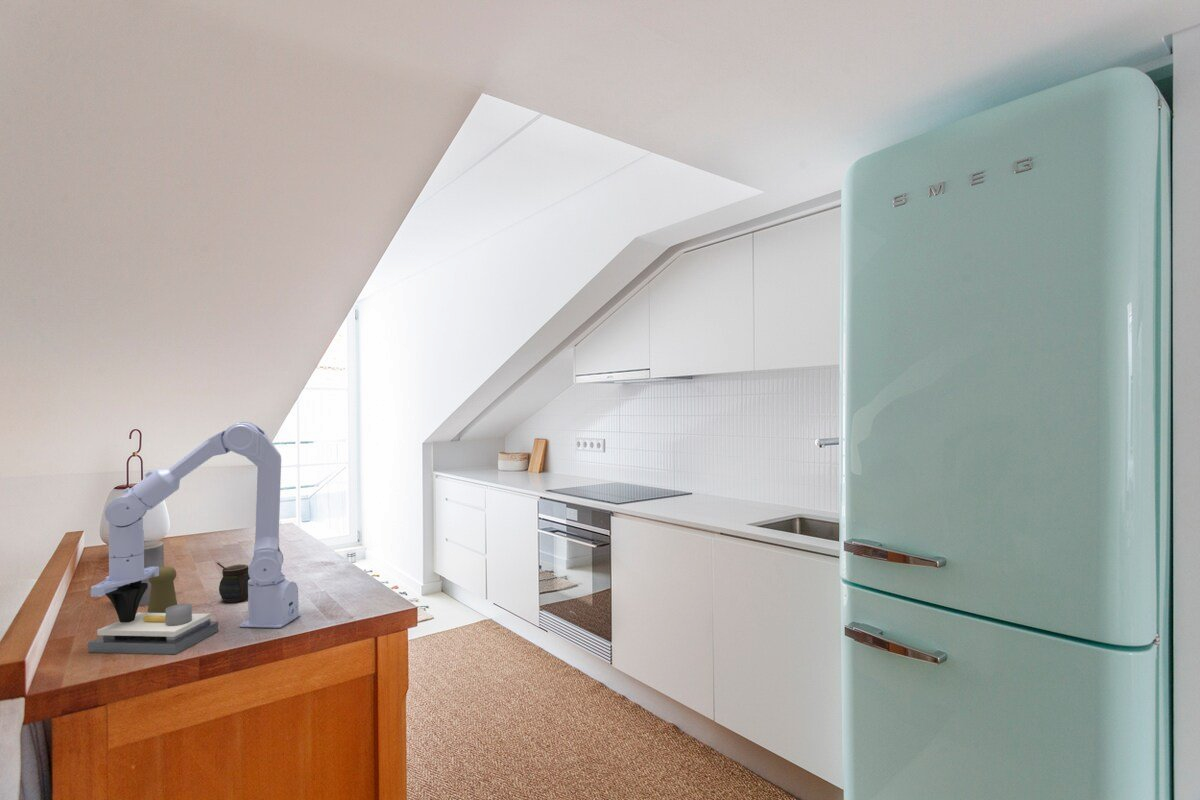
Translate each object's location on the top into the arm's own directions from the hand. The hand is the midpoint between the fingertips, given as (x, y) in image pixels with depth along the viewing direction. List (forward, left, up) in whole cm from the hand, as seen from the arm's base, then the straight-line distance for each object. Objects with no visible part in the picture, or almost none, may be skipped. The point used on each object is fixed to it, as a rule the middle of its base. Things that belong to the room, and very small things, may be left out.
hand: (127, 621), depth 128 cm
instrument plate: (-6, 0, -1) cm, 6 cm away
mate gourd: (-5, -26, -4) cm, 27 cm away
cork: (+4, -14, -4) cm, 15 cm away
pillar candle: (+18, -24, -4) cm, 30 cm away
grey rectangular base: (-6, 0, -4) cm, 7 cm away
